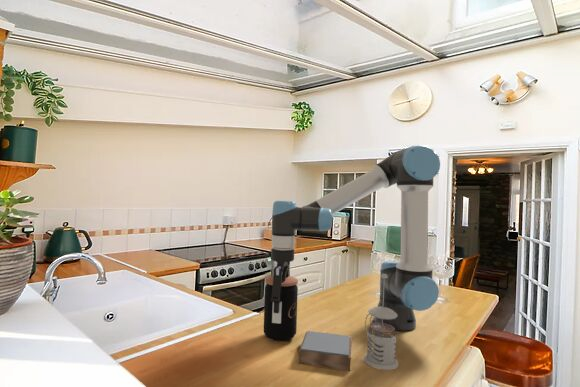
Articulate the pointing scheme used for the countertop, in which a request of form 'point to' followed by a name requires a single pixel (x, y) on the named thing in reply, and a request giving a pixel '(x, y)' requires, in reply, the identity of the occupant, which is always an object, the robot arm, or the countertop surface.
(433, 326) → the countertop surface
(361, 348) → the countertop surface
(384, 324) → the glass coffee plunger
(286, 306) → the coffee jar
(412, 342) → the countertop surface
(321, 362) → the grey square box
